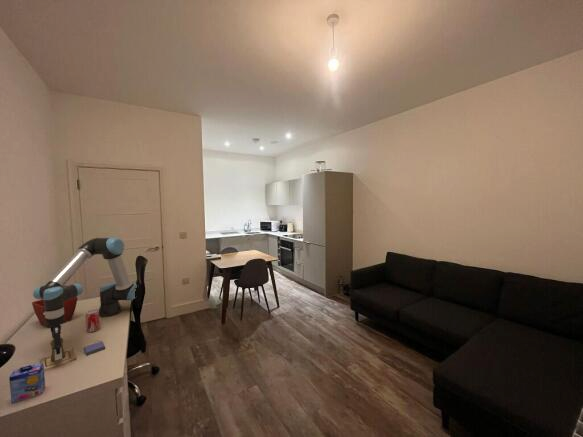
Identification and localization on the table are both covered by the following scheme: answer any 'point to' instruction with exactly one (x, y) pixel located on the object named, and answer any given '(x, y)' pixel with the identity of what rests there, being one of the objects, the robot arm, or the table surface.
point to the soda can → (92, 321)
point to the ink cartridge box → (27, 382)
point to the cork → (54, 352)
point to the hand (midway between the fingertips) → (57, 354)
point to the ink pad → (93, 348)
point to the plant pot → (68, 310)
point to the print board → (49, 365)
